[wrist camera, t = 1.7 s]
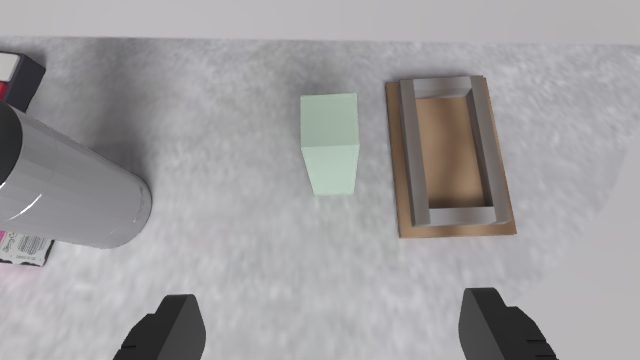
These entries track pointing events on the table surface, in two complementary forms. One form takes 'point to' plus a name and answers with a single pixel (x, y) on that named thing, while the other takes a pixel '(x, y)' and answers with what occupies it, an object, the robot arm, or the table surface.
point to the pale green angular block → (330, 141)
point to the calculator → (18, 79)
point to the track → (447, 159)
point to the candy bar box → (24, 249)
